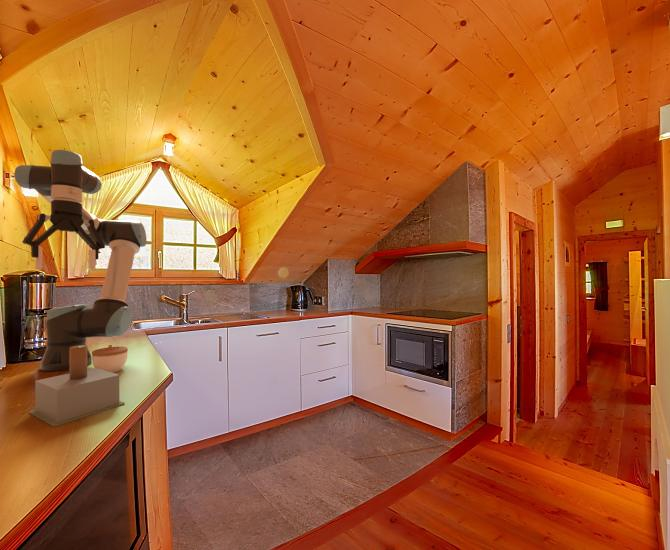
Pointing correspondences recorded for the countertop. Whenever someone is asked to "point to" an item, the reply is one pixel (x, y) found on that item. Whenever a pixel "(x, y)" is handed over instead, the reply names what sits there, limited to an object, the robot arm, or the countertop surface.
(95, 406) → the cover
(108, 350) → the lidded jar
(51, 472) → the countertop surface
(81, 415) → the mat
